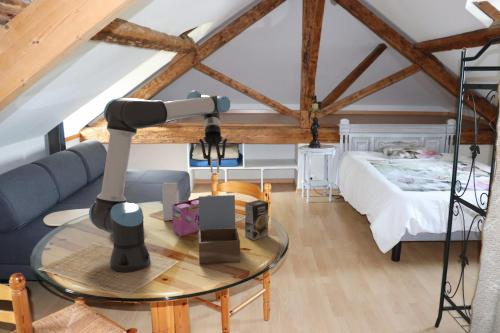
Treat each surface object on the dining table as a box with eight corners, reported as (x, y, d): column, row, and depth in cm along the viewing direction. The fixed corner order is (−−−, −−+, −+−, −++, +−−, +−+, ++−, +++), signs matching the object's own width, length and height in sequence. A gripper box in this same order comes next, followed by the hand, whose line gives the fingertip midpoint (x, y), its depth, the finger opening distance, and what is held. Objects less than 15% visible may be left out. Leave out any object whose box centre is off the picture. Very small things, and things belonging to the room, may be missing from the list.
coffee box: (254, 240, 185) (254, 206, 181) (244, 236, 190) (244, 202, 186) (268, 235, 191) (269, 202, 187) (259, 231, 195) (259, 199, 192)
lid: (199, 229, 173) (199, 229, 174) (235, 227, 175) (235, 227, 176) (198, 196, 171) (198, 196, 172) (234, 195, 173) (234, 195, 174)
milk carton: (177, 220, 210) (175, 184, 206) (163, 220, 210) (161, 184, 206) (179, 216, 217) (178, 181, 213) (166, 216, 217) (164, 181, 213)
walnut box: (199, 249, 175) (198, 229, 173) (236, 247, 177) (236, 228, 175) (199, 264, 162) (198, 243, 160) (240, 262, 164) (239, 240, 162)
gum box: (212, 219, 212) (211, 194, 209) (222, 223, 206) (221, 197, 203) (172, 231, 196) (171, 204, 193) (182, 236, 190) (181, 208, 187)
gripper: (228, 133, 201) (231, 174, 188) (196, 134, 199) (197, 175, 186) (228, 123, 194) (232, 165, 182) (196, 124, 193) (197, 166, 180)
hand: (214, 170), depth 184 cm, fingers open, 2 cm apart
